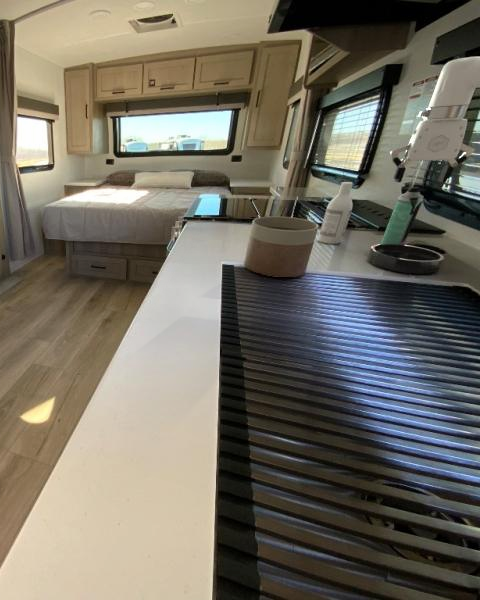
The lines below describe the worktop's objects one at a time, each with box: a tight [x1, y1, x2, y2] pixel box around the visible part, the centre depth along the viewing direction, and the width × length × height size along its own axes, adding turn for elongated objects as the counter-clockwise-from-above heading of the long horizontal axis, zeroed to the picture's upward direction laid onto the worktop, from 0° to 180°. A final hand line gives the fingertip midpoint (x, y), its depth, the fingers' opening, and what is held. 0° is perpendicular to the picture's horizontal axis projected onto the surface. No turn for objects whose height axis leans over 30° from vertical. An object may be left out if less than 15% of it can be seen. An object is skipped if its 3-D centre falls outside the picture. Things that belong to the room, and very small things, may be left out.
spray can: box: [380, 186, 425, 245], centre depth 101 cm, size 6×6×20 cm
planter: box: [243, 215, 319, 278], centre depth 94 cm, size 16×16×14 cm
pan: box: [366, 243, 445, 275], centre depth 96 cm, size 15×15×4 cm
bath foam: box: [317, 181, 354, 245], centre depth 113 cm, size 7×7×20 cm
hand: (419, 181), depth 96 cm, fingers open, 9 cm apart
